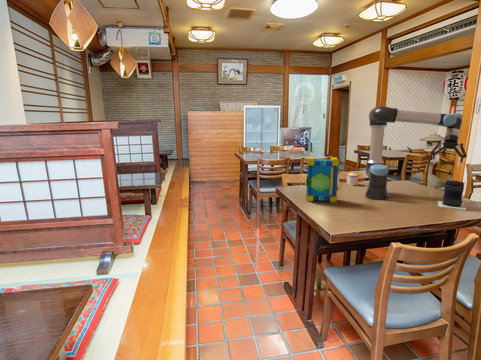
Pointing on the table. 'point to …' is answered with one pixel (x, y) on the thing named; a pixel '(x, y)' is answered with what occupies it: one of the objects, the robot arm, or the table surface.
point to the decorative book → (322, 179)
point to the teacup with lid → (352, 179)
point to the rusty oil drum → (453, 193)
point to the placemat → (451, 207)
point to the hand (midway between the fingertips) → (445, 165)
